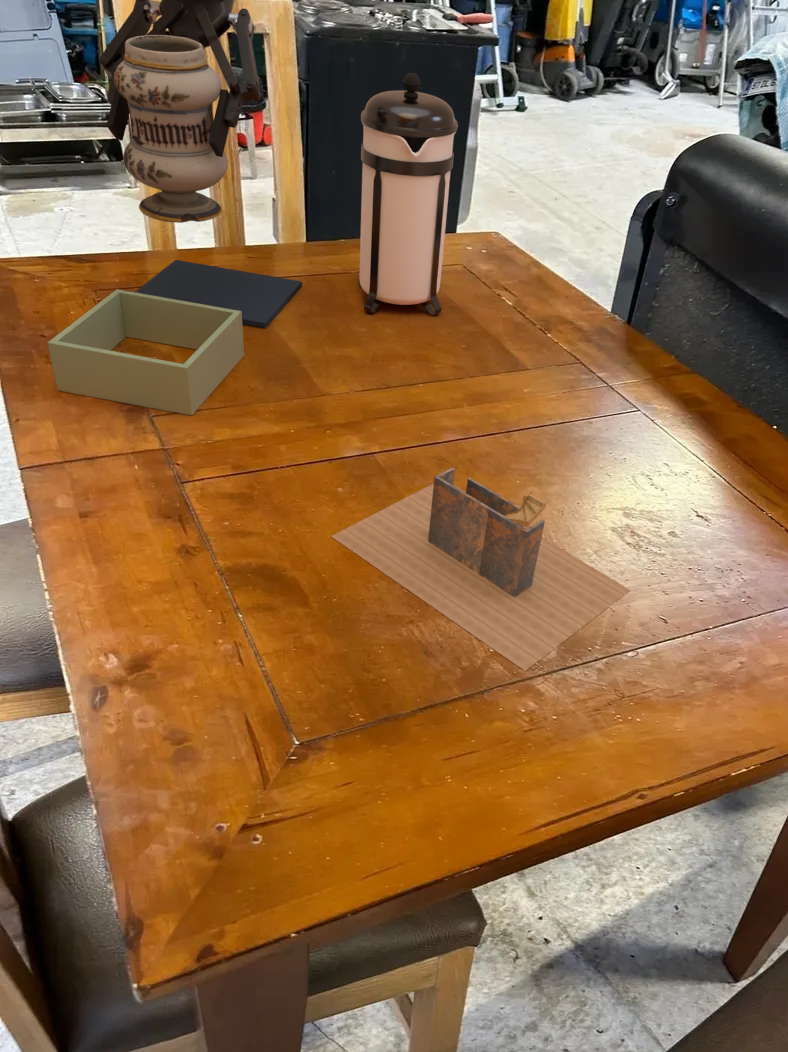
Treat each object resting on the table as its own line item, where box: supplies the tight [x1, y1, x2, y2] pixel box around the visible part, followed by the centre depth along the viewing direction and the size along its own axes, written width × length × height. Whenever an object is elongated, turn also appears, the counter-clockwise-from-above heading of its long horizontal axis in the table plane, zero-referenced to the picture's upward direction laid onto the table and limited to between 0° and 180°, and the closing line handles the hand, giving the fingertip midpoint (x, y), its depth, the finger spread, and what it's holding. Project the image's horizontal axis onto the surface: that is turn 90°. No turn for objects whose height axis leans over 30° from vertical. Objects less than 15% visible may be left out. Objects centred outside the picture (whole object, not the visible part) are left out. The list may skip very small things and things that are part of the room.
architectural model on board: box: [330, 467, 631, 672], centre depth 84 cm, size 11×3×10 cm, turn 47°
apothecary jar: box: [114, 34, 229, 224], centre depth 104 cm, size 12×12×18 cm
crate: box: [47, 288, 245, 416], centre depth 107 cm, size 17×17×6 cm
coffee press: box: [358, 72, 459, 317], centre depth 124 cm, size 17×16×30 cm
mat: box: [134, 259, 303, 329], centre depth 128 cm, size 20×16×1 cm
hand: (164, 141), depth 103 cm, fingers closed on apothecary jar, 12 cm apart
